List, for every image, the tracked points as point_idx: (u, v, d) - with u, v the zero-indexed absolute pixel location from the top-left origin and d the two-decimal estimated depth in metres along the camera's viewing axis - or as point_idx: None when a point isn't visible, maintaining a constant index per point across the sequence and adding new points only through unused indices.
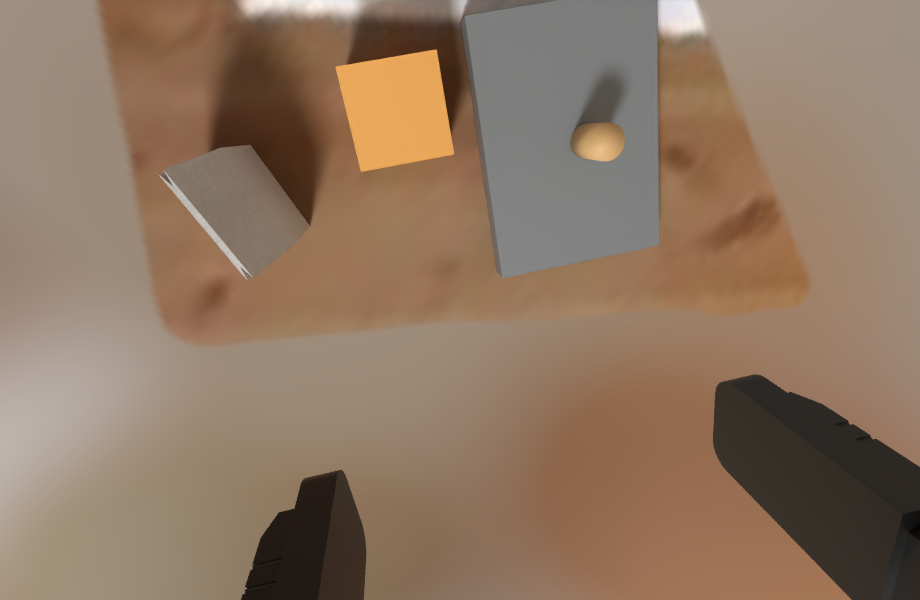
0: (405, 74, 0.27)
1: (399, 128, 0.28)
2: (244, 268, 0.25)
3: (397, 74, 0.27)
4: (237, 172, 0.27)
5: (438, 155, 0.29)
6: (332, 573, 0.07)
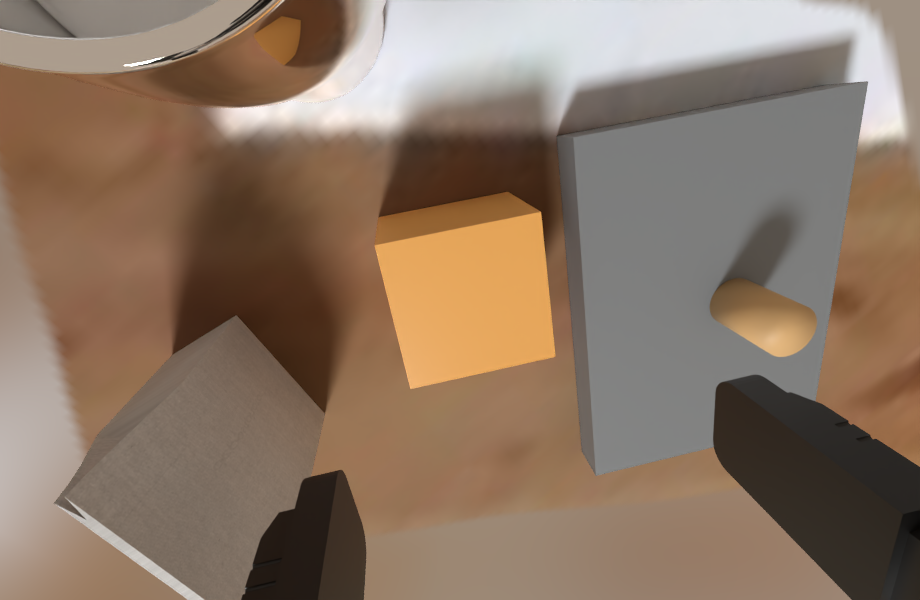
0: (488, 250, 0.16)
1: (474, 327, 0.17)
2: None
3: (475, 251, 0.16)
4: (211, 417, 0.16)
5: (531, 359, 0.18)
6: (332, 573, 0.07)
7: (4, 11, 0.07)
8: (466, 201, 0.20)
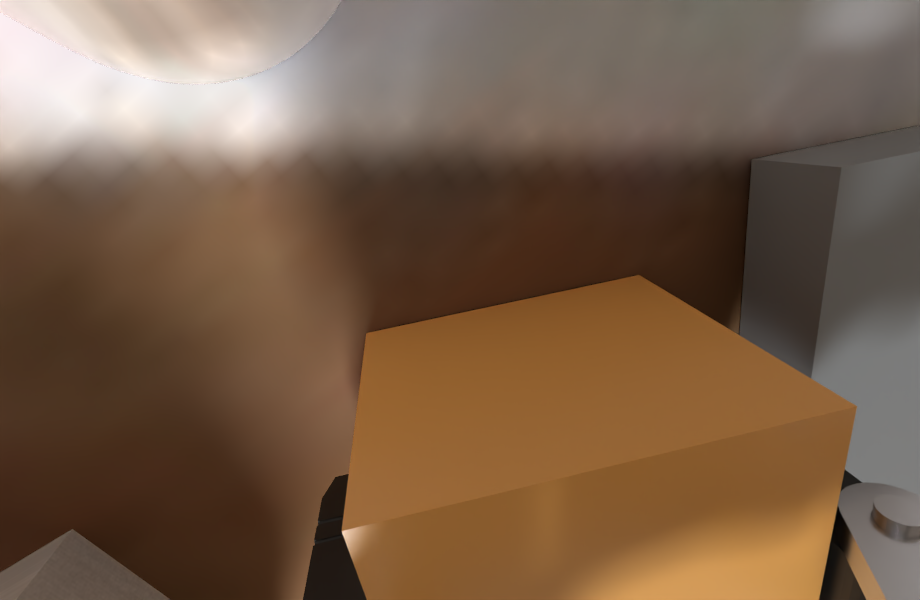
0: (685, 514, 0.05)
1: None
2: None
3: (648, 519, 0.05)
4: None
5: None
6: None
7: None
8: (557, 300, 0.09)
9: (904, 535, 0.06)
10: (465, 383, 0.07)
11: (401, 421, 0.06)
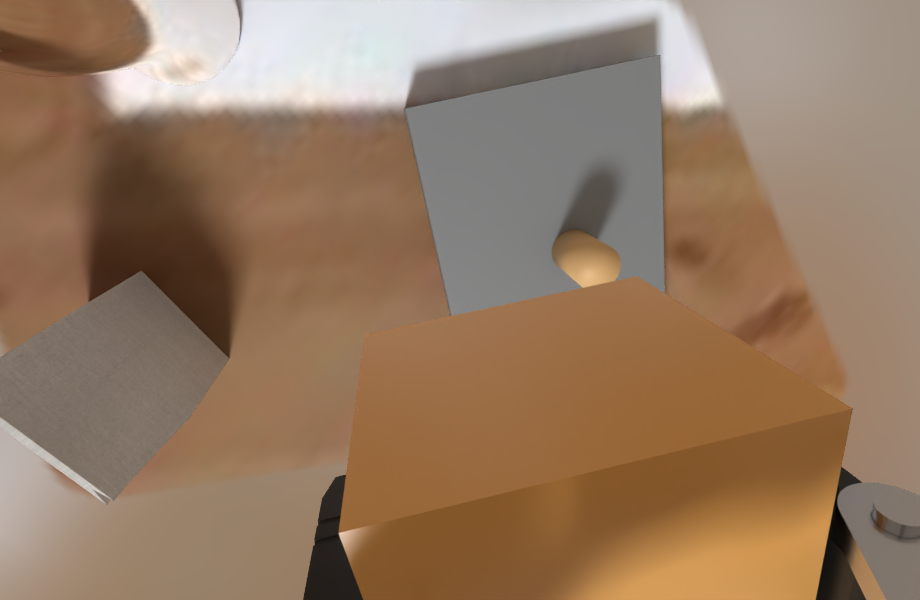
0: (681, 516, 0.05)
1: None
2: (99, 490, 0.18)
3: (644, 520, 0.05)
4: (98, 342, 0.20)
5: None
6: None
7: None
8: (554, 302, 0.09)
9: (904, 535, 0.06)
10: (462, 385, 0.07)
11: (398, 423, 0.06)
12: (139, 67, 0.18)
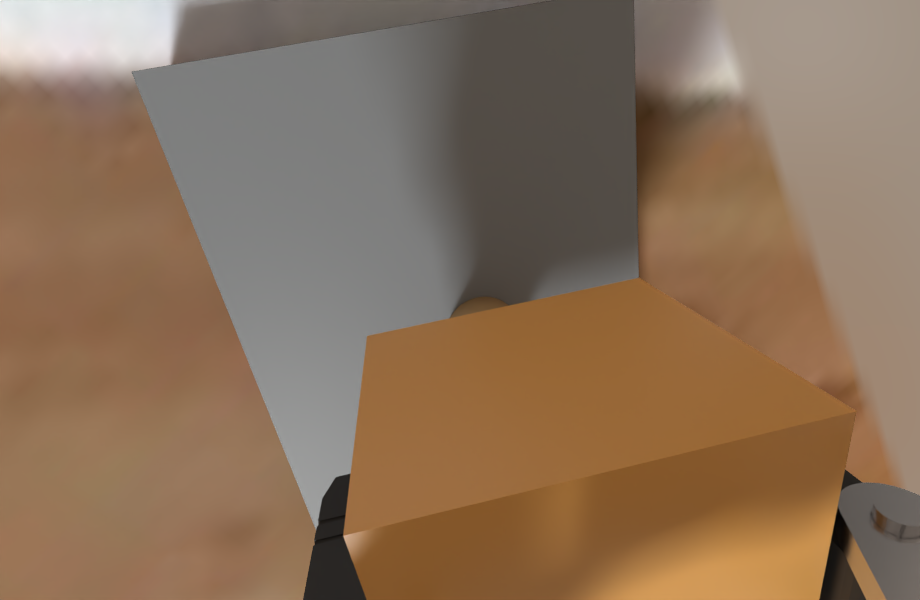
0: (685, 518, 0.06)
1: None
2: None
3: (648, 523, 0.05)
4: None
5: None
6: None
7: None
8: (557, 303, 0.09)
9: (904, 535, 0.06)
10: (466, 387, 0.07)
11: (402, 425, 0.06)
12: None
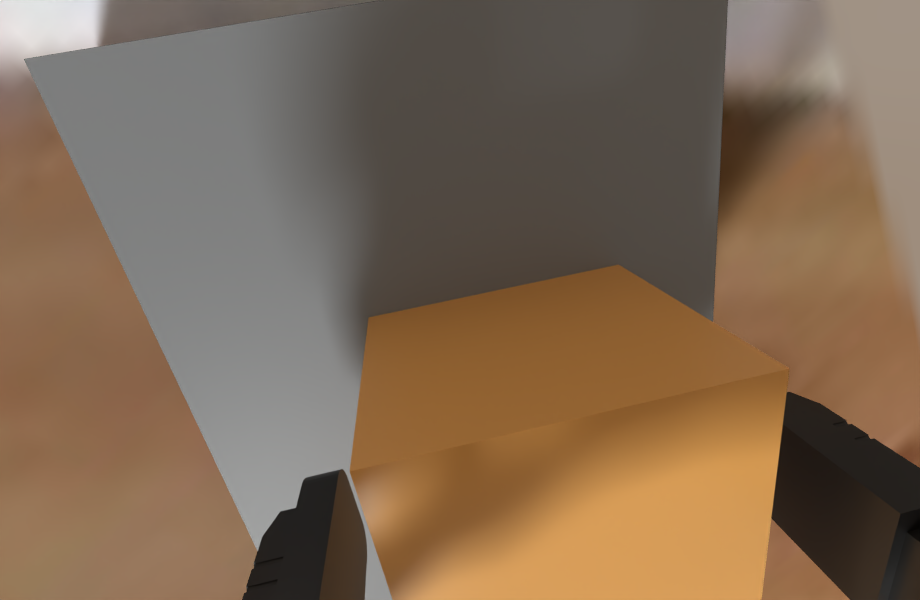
0: (644, 463, 0.06)
1: None
2: None
3: (612, 466, 0.06)
4: None
5: None
6: (334, 571, 0.07)
7: None
8: (542, 287, 0.10)
9: None
10: (457, 357, 0.08)
11: (400, 388, 0.07)
12: None
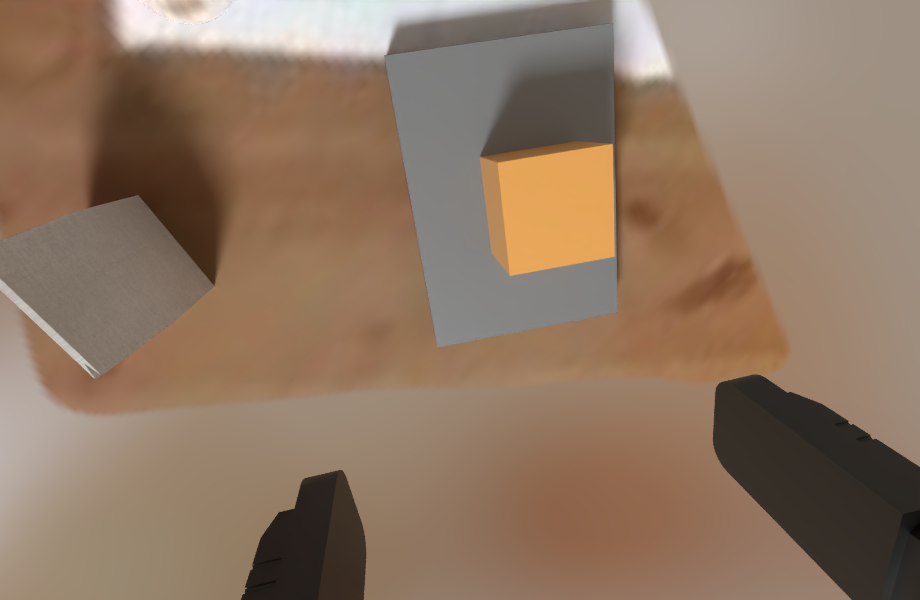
0: (574, 171, 0.23)
1: (559, 229, 0.24)
2: (89, 365, 0.20)
3: (565, 171, 0.23)
4: (95, 240, 0.22)
5: (597, 258, 0.25)
6: (332, 573, 0.07)
7: None
8: (546, 146, 0.27)
9: None
10: (518, 154, 0.25)
11: (503, 158, 0.24)
12: None
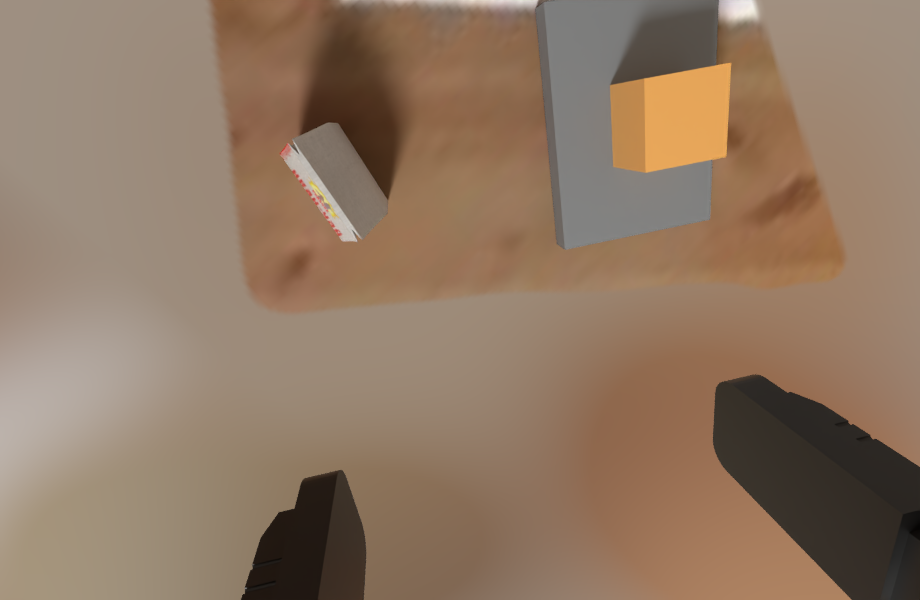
0: (700, 85, 0.30)
1: (685, 133, 0.31)
2: (355, 231, 0.27)
3: (694, 85, 0.30)
4: (341, 145, 0.29)
5: (713, 158, 0.32)
6: (332, 572, 0.07)
7: None
8: None
9: None
10: None
11: None
12: None
